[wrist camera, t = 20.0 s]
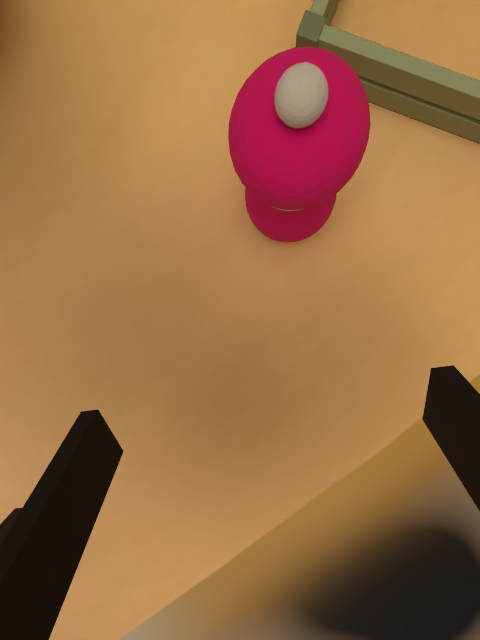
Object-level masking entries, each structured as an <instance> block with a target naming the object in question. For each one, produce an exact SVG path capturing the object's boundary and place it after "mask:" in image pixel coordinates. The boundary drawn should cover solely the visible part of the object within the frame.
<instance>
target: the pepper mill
mask: <svg viewBox="0 0 480 640" xmlns="http://www.w3.org/2000/svg"><path fill="white" fill-rule="evenodd" d="M369 130H370V111H369V104H368V100H367V96H366V92H365V90H364V87H363V85H362V83H361V80H360V78H359V77H358V76H357V74H356V73H355V71H354V70H353V69H352V67H351V66H350V65H349V64H347V63H346V62H345V61H344V60H343V59H342V58H341V57H339V56H337V55H335V54H333V53H331V52H329V51H327V50H325V49H320V48H314V47H297V48H292V49H289V50H286V51H283V52H280V53H278V54H276V55H275V56H273V57H271V58H269V59H268V60H266V61H265V62H264V63H263V64H262V65H260V66H259V67H258V68H257V69H256V70H255V71H254V72H253V73H252V74H251V75H250V77H249V78H248V79H247V80H246V81H245V83H244V84H243V86H242V88H241V89H240V91H239V93H238V95H237V97H236V100H235V103H234V106H233V108H232V112H231V116H230V121H229V136H228V138H229V147H230V155H231V159H232V162H233V165H234V169H235V171H236V173H237V175H238V177H239V178H240V180H241V182H242V184H243V185H244V186H245V187H246V190H245V200H246V207H247V211H248V214H249V216H250V219H251V221H252V222H253V224H254V225H255V226H256V228H257V229H258V230H259V231H260V232H262V233H263V234H264V235H265V236H267V237H269V238H271V239H274V240H277V241H281V242H295V241H299V240H303V239H305V238H307V237H309V236H311V235H313V234H314V233H316V232H317V231H318V230H319V229H320V228H321V227H322V226H323V225H324V224H325V222H326V221H327V219H328V218H329V216H330V214H331V212H332V209H333V207H334V204H335V200H336V193H337V192H339V191H340V190H341V189H342V187H343V186H344V185H345V184H346V183H347V182H348V181H349V180H350V179H351V178H352V176H353V174H354V173H355V171H356V169H357V168H358V166H359V164H360V162H361V160H362V157H363V154H364V152H365V148H366V145H367V142H368V138H369Z"/></svg>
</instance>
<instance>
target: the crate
mask: <svg viewBox="0 0 480 640" xmlns="http://www.w3.org/2000/svg"><path fill="white" fill-rule="evenodd" d="M339 1H340V0H314V3H313V5H312V8H311V10H310V11H308V10H306V11H305V13H304V16H303V18H302V21H301V24H300V26H299V29H298V32H297V36H296V48H297V47H314V48H320V49H325V50H327V51H329V52H331V53H333V54H335V55H337V56H339V57H341V58H342V59H343V60H344V61H345V62H346V63H347V64H349V65H350V66H351V67H352V69H353V70H354V71H355V73H356V74H357V76H358V77H359V78H360V80H361V83H362V85H363V87H364V90H365V92H366V96H367V100H368V102H371V103H374V104H376V105H379V106H382V107H384V108H387V109H390V110H392V111H395V112H398V113H400V114H403V115H406V116H408V117H411V118H414V119H416V120H419V121H422V122H424V123H427V124H429V125H432V126H435V127H437V128H440V129H443V130H445V131H448V132H451V133H453V134H456V135H459V136H461V137H464V138H467V139H469V140H472V141H475V142H477V143H480V81H479V80H476V79H474V78H471V77H468V76H465V75H463V74H460V73H457V72H454V71H452V70H449V69H446V68H443V67H441V66H438V65H435V64H432V63H430V62H427V61H424V60H421V59H419V58H416V57H413V56H410V55H408V54H405V53H402V52H399V51H397V50H394V49H391V48H388V47H386V46H383V45H380V44H377V43H375V42H372V41H369V40H366V39H364V38H361V37H358V36H355V35H353V34H350V33H347V32H344V31H342V30H339V29H336V28H333V27H331V26H330V24H331V21H332V18H333V16H334V13H335V11H336V8H337V6H338V3H339Z"/></svg>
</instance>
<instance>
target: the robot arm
mask: <svg viewBox="0 0 480 640" xmlns="http://www.w3.org/2000/svg"><path fill="white" fill-rule="evenodd" d="M423 421H424V422H425V424H426V426H427V427H428V429H429V431H430V432H431V434H432V435H433V437H434V439H435V440H436V442H437V443H438V445H439V447H440V448H441V450H442V451H443V453H444V455H445V456H446V458H447V459H448V461H449V463H450V464H451V466H452V468H453V469H454V471H455V472H456V474H457V476H458V477H459V479H460V480H461V482H462V484H463V485H464V487H465V489H466V490H467V492H468V493H469V495H470V497H471V498H472V500H473V501H474V503H475V505H476V506H477V508H478V509H479V511H480V394H479V393H478V392H477V391H476V390H475V389H474V388H473V386H472V385H471V384H470V383H469V382H468V381H467V380H466V379H465V378H464V376H463V375H462V374H461V373H460V372H459V371H458V370H457V369H456V368H455V366H454V365H453V366H445V367H437V368H431V373H430V379H429V384H428V390H427V396H426V402H425V408H424V414H423ZM122 454H123V450H122V448H121V446H120V445H119V443H118V441H117V440H116V438H115V436H114V435H113V433H112V432H111V430H110V428H109V427H108V425H107V423H106V422H105V420H104V418H103V417H102V415H101V413H100V412H99V410H91V411H83V412H81V413H80V415H79V416H78V418H77V419H76V421H75V423H74V424H73V426H72V428H71V429H70V431H69V433H68V434H67V436H66V438H65V439H64V441H63V442H62V444H61V446H60V447H59V449H58V451H57V452H56V454H55V456H54V457H53V459H52V461H51V462H50V464H49V465H48V467H47V469H46V470H45V472H44V474H43V475H42V477H41V479H40V480H39V482H38V484H37V485H36V487H35V488H34V490H33V492H32V493H31V495H30V497H29V498H28V500H27V502H26V503H25V505H24V507H23V508H16V509H14V510H13V511H12V513H11V514H10V515H9V516H8V517H7V518H6V519H5V520H4V521H3V522H2V523H1V524H0V640H49V637H50V635H51V632H52V630H53V627H54V625H55V622H56V620H57V617H58V615H59V612H60V610H61V607H62V605H63V602H64V600H65V597H66V595H67V592H68V589H69V587H70V584H71V582H72V579H73V577H74V574H75V572H76V569H77V567H78V564H79V562H80V559H81V557H82V554H83V552H84V549H85V547H86V544H87V542H88V539H89V537H90V534H91V532H92V529H93V527H94V524H95V522H96V519H97V516H98V514H99V511H100V509H101V506H102V504H103V501H104V499H105V496H106V494H107V491H108V489H109V486H110V484H111V481H112V479H113V476H114V474H115V471H116V469H117V466H118V464H119V461H120V459H121V456H122Z"/></svg>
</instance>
